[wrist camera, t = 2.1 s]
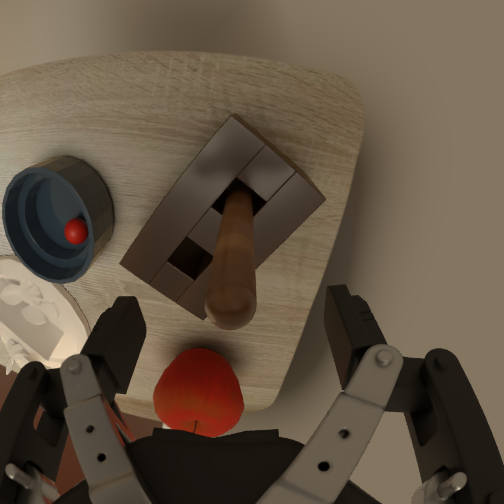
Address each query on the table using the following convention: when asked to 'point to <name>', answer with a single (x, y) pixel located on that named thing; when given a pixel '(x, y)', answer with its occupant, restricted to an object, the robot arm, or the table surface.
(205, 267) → the stand
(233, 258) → the stick
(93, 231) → the bowl
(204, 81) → the table surface
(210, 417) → the apple
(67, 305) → the dish
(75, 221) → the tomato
